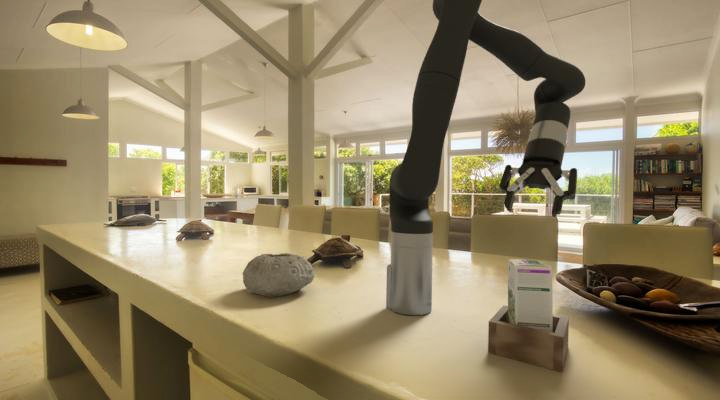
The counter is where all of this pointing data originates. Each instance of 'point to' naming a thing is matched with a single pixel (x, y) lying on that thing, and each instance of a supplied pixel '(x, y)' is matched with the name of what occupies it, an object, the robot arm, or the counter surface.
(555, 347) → the walnut collar
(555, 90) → the robot arm
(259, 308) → the counter surface
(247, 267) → the grey carved stone
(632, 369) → the counter surface
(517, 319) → the syrup box
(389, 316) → the counter surface
